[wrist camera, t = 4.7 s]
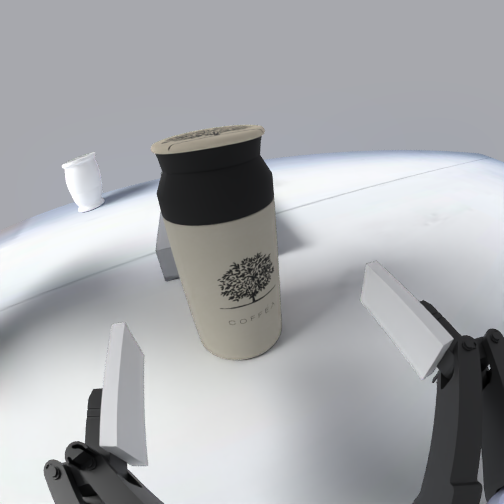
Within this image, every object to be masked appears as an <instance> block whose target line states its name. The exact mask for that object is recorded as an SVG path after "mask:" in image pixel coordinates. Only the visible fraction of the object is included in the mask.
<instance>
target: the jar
mask: <svg viewBox="0 0 504 504" xmlns="http://www.w3.org/2000/svg"><path fill="white" fill-rule="evenodd" d="M95 156H96V153H95V152H93V153H89V154H85V155H83V156H80V157H77V158H75V159H72V160H70V161H68V162H66V163H65V164H63V165H62V168H63V169H65V179H66V183H67V187H68V189H69V191H70V193H71V195H72V198H73V200H74V201H75V203H76V204H77V205H78V206H79V212H87V211H90V210H93V209H95V208H97V207H99V206H100V205H102V204H103V203H104V201H105V200H104V199H103V198H102V190H103V189H102V180H101V173H100V169H99V166H98V163H97V162H96V159H95Z"/></svg>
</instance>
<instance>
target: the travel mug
mask: <svg viewBox="0 0 504 504" xmlns="http://www.w3.org/2000/svg"><path fill="white" fill-rule="evenodd" d="M264 132H265V131H264V128H263V127H262V126H258V125H234V126H224V127H216V128H209V129H203V130H198V131H193V132H189V133H184V134H180V135H176V136H172V137H169V138H166V139H163V140H161V141H158V142H156V143H154V144H153V145H152V146H151V151H152V152H153V153H155V154H156V156H157V158H158V161H159V164H160V166H161V169H162V175H161V179H160V182H159V186H158V190H157V197H158V201H159V205H160V209H161V213H162V217H163V221H164V224H165V228H166V232H167V236H168V239H169V243H170V246H171V250H172V253H173V257H174V260H175V264H176V267H177V270H178V273H179V277H180V280H181V283H182V286H183V289H184V293H185V296H186V299H187V302H188V305H189V308H190V311H191V314H192V316H193V319H194V322H195V325H196V328H197V331H198V334H199V336H200V339H201V342H202V344H203V345H204V347H205V348H206V349H207V350H208V351H209V352H211V353H212V354H214V355H216V356H218V357H220V358H224V359H229V360H244V359H249V358H253V357H256V356H258V355H260V354H262V353H264V352H266V351H267V350H268V349H270V348H271V347H272V346H273V345H274V344H275V343H276V341H277V340H278V338H279V336H280V333H281V328H282V322H281V301H280V281H279V263H278V247H277V231H276V217H275V203H274V190H273V177H272V172H271V171H270V169H269V168H268V166H267V165H266V163H265V162H264V160H263V159H262V157H261V156H260V143H261V136H262V135H263V134H264Z"/></svg>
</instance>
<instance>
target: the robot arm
mask: <svg viewBox="0 0 504 504" xmlns="http://www.w3.org/2000/svg"><path fill="white" fill-rule="evenodd" d="M360 301H361V303H362V304H363V305H364V306H365V307H366V309H367V310H368V311H369V312H370V314H371V315H372V316H373V317H374V319H375V320H376V321H377V322H378V324H379V325H380V326H381V327H382V329H383V330H384V331H385V332H386V334H387V335H388V336H389V337H390V339H391V340H392V341H393V343H394V344H395V345H396V346H397V348H398V349H399V350H400V352H401V353H402V354H403V356H404V357H405V358H406V360H407V361H408V362H409V364H410V365H411V366H412V368H413V369H414V370H415V372H416V373H417V374H418V376H419V377H420V378H421V380H423V379H425V378H426V377H428V376H429V375H431V374H432V373H433V372H434V370H435V369H436V367H437V368H438V369H439V371H438V373H437V374H436V376H435V377H434V378H433V381H432V383H434V382H435V381H436V379H437V382H436V383H437V396H436V408H435V418H434V426H433V433H432V440H431V446H430V452H429V457H428V462H427V466H426V471H425V475H424V479H423V483H422V487H421V491H420V493H419V495H418V497H417V498H416V499H415V500H414V502H413V504H479V503H480V498H481V493H482V485H481V484H480V483H479V482H478V481H477V474H478V468H479V460H480V451H481V449H482V460H483V477H484V491H485V497H486V501H487V503H486V504H504V337H503V335H502V334H501V333H500V332H499V331H498V330H496V329H489V330H488V331H487V332H486V334H485V336H484V337H480V338H476V339H474V338H472V337H470V336H467V335H466V336H461V335H460V334H459V333H458V332H457V331H456V330H455V329H454V328H453V327H452V325H451V324H450V323H449V322H448V321H447V320H446V319H445V318H444V317H442V315H441V314H440V313H439V312H438V311H437V310H436V309H435V308H434V307H433V306H432V305H431V304H429V303H428V302H426V301H424V300H423V301H420V302H419V301H418V300H417V299H416V298H415V297H414V296H413V295H412V294H411V293H410V292H409V291H408V290H407V289H406V288H405V287H404V286H403V285H402V284H401V283H400V282H399V281H398V280H397V279H396V278H395V277H394V276H393V275H392V274H391V273H389V272H388V271H387V270H386V269H385V268H384V267H383V266H382V265H381V264H380V263H379V262H378V261H374V262H370V263H367V264H366V268H365V275H364V280H363V286H362V292H361V297H360ZM489 364H490V367H491V369H490V370H489V369H488V367H487V366H488V365H489ZM65 460H66V462H64V463H61V462H59V461H57V460H49V461H48V462H47V463H46V464H45V466H44V476H45V479H46V482H47V484H48V487H49V490H50V492H51V495H52V497H53V500H54V502H55V504H164V503H163V502H162V501H160V500H159V499H158V498H157V497H156V496H155V495H154V494H153V493H152V492H150V491H149V490H148V489H147V488H146V487H145V486H144V485H143V484H142V483H141V482H140V481H139V480H138V479H137V478H136V477H135V476H134V475H133V474H132V473H131V472H130V471H129V470H128V469H127V463H128V464H130V465H132V466H148V458H147V447H146V433H145V411H144V354H143V352H142V351H141V349H140V347H139V346H138V344H137V342H136V341H135V339H134V337H133V335H132V334H131V332H130V330H129V328H128V326H127V325H126V323H125V322H121V323H116V324H112V327H111V332H110V338H109V344H108V350H107V357H106V364H105V372H104V381H103V388H102V389H93V391H92V393H91V395H90V397H89V399H88V410H87V420H86V435H85V444H84V443H82V442H79V441H77V442H73V443H71V444H69V445H68V447H67V448H66V451H65Z"/></svg>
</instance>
